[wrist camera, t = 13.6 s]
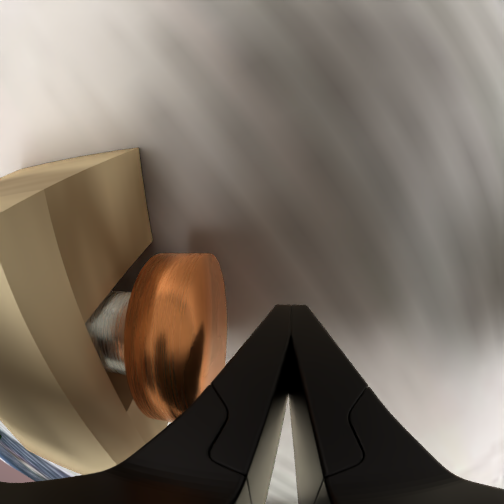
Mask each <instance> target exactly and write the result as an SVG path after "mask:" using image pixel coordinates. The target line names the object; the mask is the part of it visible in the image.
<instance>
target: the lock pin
mask: <svg viewBox="0 0 504 504" xmlns="http://www.w3.org/2000/svg"><path fill="white" fill-rule="evenodd" d="M85 325H86V328H87V330H88V333H89V335H90V337H91V340H92V342H93V344H94V347H95V349H96V351H97V354H98V356H99V358H100V360H101V362H102V364H103V367H104V369H105V371H107V372H112V373H118V374H123V375H126V376H127V382H128V385H129V389H130V392H131V395H132V397H133V399H134V402H135V403H136V405H137V407H138V408H139V410H140V411H141V412H142V413H143V414H144V415H145V416H147V417H149V418H151V419H156V420H162V421H168V422H173V421H174V420H175V419H176V418H177V417H178V416H179V415H181V414H182V413H183V412H184V411H185V410H186V409H187V408H188V407H189V406H190V405H191V404H192V403H193V402H194V401H195V400H196V399H197V398H198V396H199V395H200V394H201V393H202V392H203V391H204V390H205V389H206V387H207V386H208V385H211V382H212V381H213V380H214V378H215V377H216V376H217V375H218V374H219V373H220V371H221V370H222V369H223V368H224V367H225V358H226V344H227V309H226V296H225V287H224V281H223V276H222V271H221V268H220V265H219V263H218V260H217V259H216V257H215V256H214V255H213V254H211V253H159V254H156V255H154V256H153V257H151V258H150V259H149V260H148V261H147V262H146V263H145V265H144V266H143V268H142V269H141V271H140V273H139V275H138V277H137V279H136V281H135V284H134V286H133V289H132V292H124V291H110V292H109V294H108V295H107V296H106V297H105V299H104V300H103V301H102V302H101V304H100V305H99V306H98V307H97V309H96V310H95V311H94V313H93V314H92V315H91V316H90V318H89V319H88V320H87V322H86V323H85Z"/></svg>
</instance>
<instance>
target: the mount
mask: <svg viewBox="0 0 504 504" xmlns="http://www.w3.org/2000/svg"><path fill="white" fill-rule="evenodd" d="M152 241H153V239H152V233H151V228H150V222H149V216H148V210H147V204H146V198H145V191H144V184H143V177H142V170H141V162H140V155H139V148H132V149H124V150H117V151H111V152H104V153H98V154H92V155H87V156H81V157H76V158H70V159H65V160H60V161H55V162H50V163H46V164H41V165H37V166H32V167H28V168H24V169H20V170H17V171H15V172H13V173H10V174H8V175H6V176H4V177H1V178H0V420H1V422H2V423H3V424H4V425H5V426H6V427H7V429H8V430H9V431H10V432H11V433H12V434H13V435H14V436H15V437H16V439H17V440H18V441H19V442H20V443H21V444H22V445H23V446H24V447H25V448H26V449H27V450H28V451H30V452H32V453H34V454H36V455H38V456H40V457H42V458H44V459H47V460H49V461H51V462H53V463H55V464H58V465H60V466H62V467H65V468H67V469H69V470H72V471H74V472H77V473H79V474H82V475H86V474H91V473H96V472H101V471H104V470H107V469H109V468H111V467H114V466H116V465H118V464H119V463H121V462H123V461H124V460H126V459H127V458H128V457H130V456H131V455H132V454H134V453H135V452H136V451H137V450H139V449H140V448H141V447H142V446H144V445H145V444H146V443H147V442H149V441H150V440H151V439H152V438H154V437H155V436H156V435H157V434H158V433H160V432H161V431H162V430H163V429H165V428H166V427H167V424H168V421H162V420H156V419H151V418H149V417H147V416H145V415H144V414H143V413H142V412H141V411H140V410H139V408H138V407H137V405H136V403H135V402H134V399H133V397H132V395H131V392H130V389H129V385H128V382H127V376H126V375H123V374H118V373H112V372H107V371H105V369H104V367H103V364H102V362H101V360H100V358H99V356H98V354H97V351H96V349H95V347H94V344H93V342H92V340H91V337H90V335H89V333H88V330H87V328H86V325H85V323H86V322H87V320H88V319H89V318H90V316H91V315H92V314H93V313H94V311H95V310H96V309H97V307H98V306H99V305H100V304H101V302H102V301H103V300H104V299H105V297H106V296H107V295H108V294H109V292H110V291H111V290H112V289H113V287H114V286H115V285H116V284H117V282H118V281H119V280H120V279H121V278H122V276H123V275H124V274H125V273H126V272H127V270H128V269H129V268H130V267H131V266H132V264H133V263H134V262H135V261H136V260H137V259H138V257H139V256H140V255H141V254H142V253H143V251H144V250H145V249H146V248H147V247H148V246H149V245H150V243H151V242H152Z"/></svg>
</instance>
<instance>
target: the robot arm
mask: <svg viewBox="0 0 504 504" xmlns="http://www.w3.org/2000/svg"><path fill="white" fill-rule="evenodd" d="M288 394H289V404H290V414H291V425H292V435H293V446H294V458H295V469H296V481H297V493H298V504H504V489H501V488H496V487H492V486H488V485H484V484H480V483H476V482H472V481H468V480H465V479H463V478H460V477H458V476H456V475H455V474H453V473H451V472H450V471H449V470H447V469H446V468H445V467H443V466H442V465H441V464H440V463H439V462H438V461H437V460H436V459H435V458H434V457H433V456H432V455H431V454H430V453H429V452H428V451H427V450H426V449H425V448H424V447H423V446H422V445H421V444H420V443H419V442H418V441H417V440H416V439H415V438H414V437H413V436H412V435H411V434H410V433H409V432H408V431H407V430H406V429H405V428H404V427H403V426H402V425H401V424H400V423H399V422H398V421H397V420H396V419H395V418H394V417H393V415H392V414H391V413H390V412H389V411H388V410H387V409H386V407H385V406H384V405H383V404H382V402H381V401H380V400H379V399H378V397H377V396H376V395H375V394H374V392H373V391H372V389H371V388H370V387H368V384H367V383H366V382H365V381H364V379H363V378H362V377H361V375H360V374H359V373H358V371H357V370H356V369H355V367H354V366H353V365H352V363H351V362H350V361H349V360H348V358H347V357H346V356H345V354H344V353H343V352H342V350H341V349H340V348H339V347H338V345H337V344H336V343H335V341H334V340H333V339H332V337H331V336H330V335H329V334H328V332H327V331H326V330H325V328H324V327H323V326H322V324H321V323H320V322H319V321H318V319H317V318H316V317H315V315H314V314H313V313H312V312H311V310H310V309H309V308H308V306H306V305H276V306H275V307H274V308H273V309H272V310H271V312H270V313H269V314H268V315H267V316H266V318H265V319H264V320H263V321H262V323H261V324H260V325H259V326H258V327H257V329H256V330H255V331H254V332H253V334H252V335H251V336H250V337H249V338H248V340H247V341H246V342H245V343H244V344H243V346H242V347H241V348H240V349H239V350H238V352H237V353H236V354H235V355H234V356H233V357H232V359H231V360H230V361H229V362H228V363H227V364H226V366H225V367H224V368H223V369H222V370H221V371H220V373H219V374H218V375H217V376H216V377H215V378H214V380H213V381H212V382H211V385H208V386H207V387H206V389H205V390H204V391H203V392H202V393H201V394H200V395H199V396H198V398H197V399H196V400H195V401H194V402H193V403H192V404H191V405H190V406H189V407H188V408H187V409H186V410H185V411H184V412H183V413H182V414H181V415H179V416H178V417H177V418H176V419H175V420H174V421H173V422H172V423H170V424H169V425H168V426H167V427H166V428H165V429H163V430H162V431H161V432H160V433H158V434H157V435H156V436H155V437H154V438H152V439H151V440H150V441H149V442H147V443H146V444H145V445H144V446H142V447H141V448H140V449H139V450H137V451H136V452H135V453H134V454H132V455H131V456H130V457H128V458H127V459H126V460H124V461H123V462H121V463H119V464H118V465H116V466H114V467H111V468H109V469H107V470H104V471H101V472H96V473H91V474H86V475H80V476H74V477H68V478H61V479H54V480H46V481H37V482H27V483H6V482H0V504H265V502H266V498H267V494H268V489H269V485H270V481H271V476H272V472H273V468H274V463H275V458H276V454H277V449H278V444H279V440H280V435H281V430H282V425H283V420H284V415H285V410H286V404H287V399H288Z"/></svg>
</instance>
